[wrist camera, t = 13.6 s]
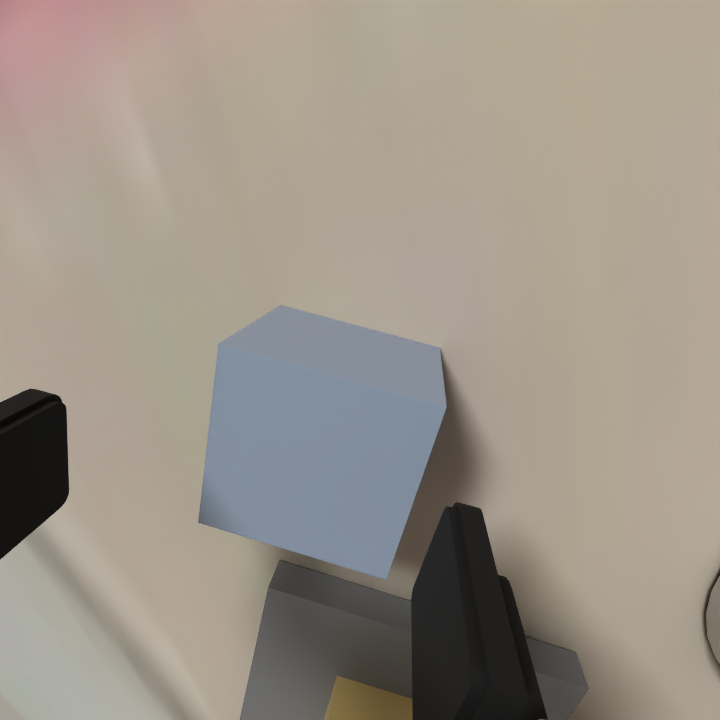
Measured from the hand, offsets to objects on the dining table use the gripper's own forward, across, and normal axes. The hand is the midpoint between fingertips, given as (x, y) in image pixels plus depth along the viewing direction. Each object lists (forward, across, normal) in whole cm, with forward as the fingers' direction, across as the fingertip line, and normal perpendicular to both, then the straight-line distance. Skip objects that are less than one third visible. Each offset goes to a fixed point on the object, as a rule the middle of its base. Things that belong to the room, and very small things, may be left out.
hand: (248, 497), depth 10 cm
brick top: (+7, -1, 0) cm, 7 cm away
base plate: (+6, -7, +16) cm, 19 cm away
